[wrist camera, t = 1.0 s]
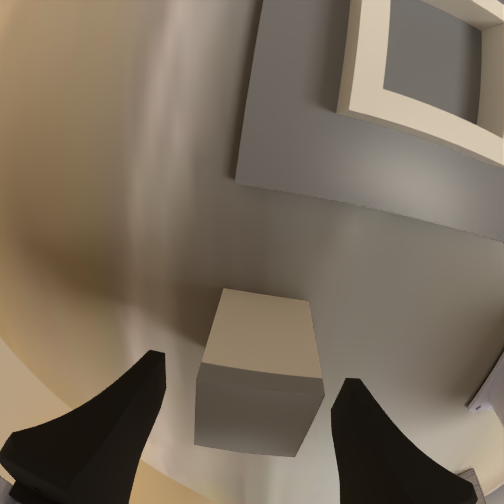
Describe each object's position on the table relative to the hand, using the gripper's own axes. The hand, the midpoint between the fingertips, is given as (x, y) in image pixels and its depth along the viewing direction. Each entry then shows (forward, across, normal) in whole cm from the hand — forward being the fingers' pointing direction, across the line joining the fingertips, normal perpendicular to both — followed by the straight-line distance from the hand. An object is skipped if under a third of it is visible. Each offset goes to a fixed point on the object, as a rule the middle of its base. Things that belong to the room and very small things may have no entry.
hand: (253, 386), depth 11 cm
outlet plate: (+4, -5, -14) cm, 15 cm away
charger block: (+4, 0, 0) cm, 4 cm away
